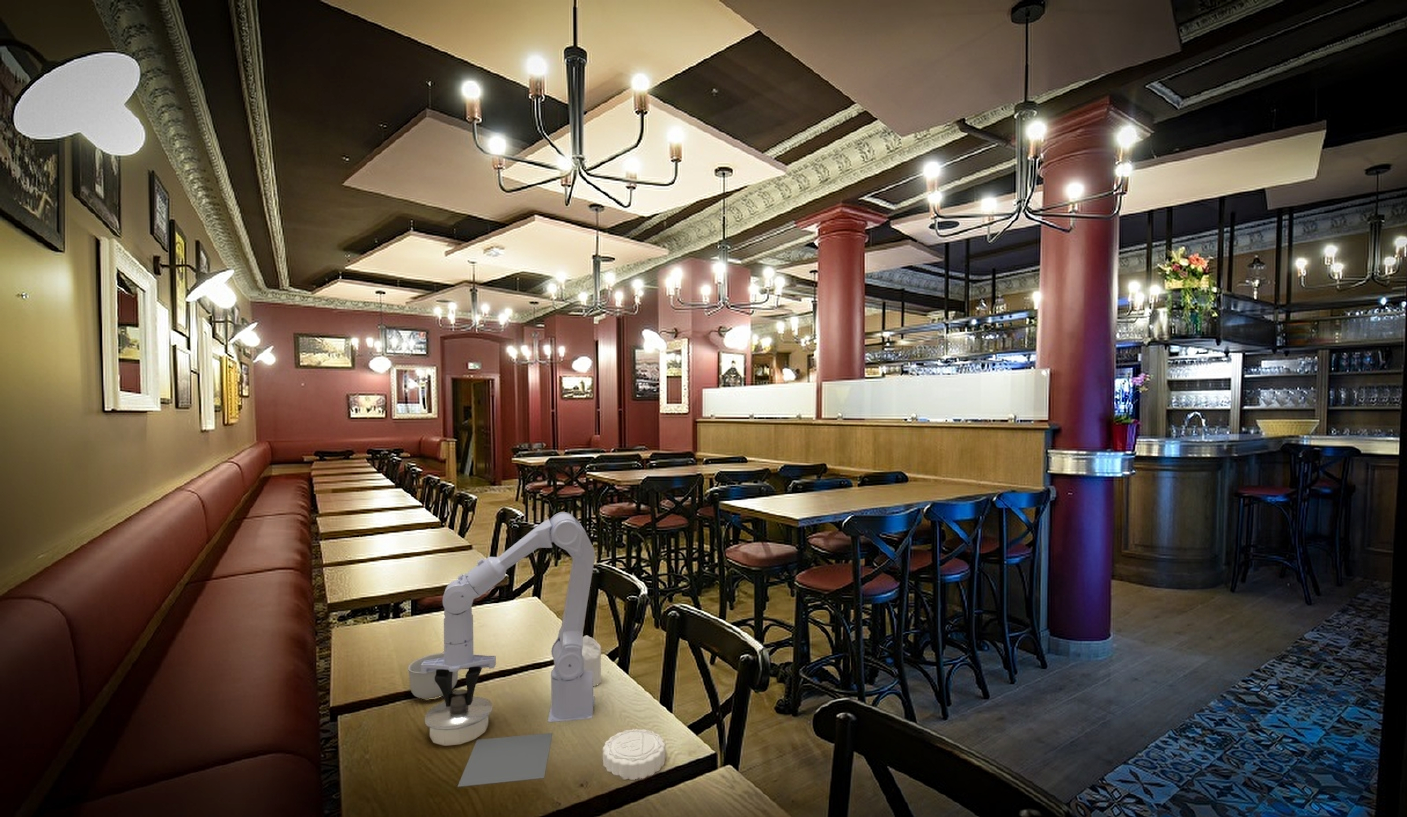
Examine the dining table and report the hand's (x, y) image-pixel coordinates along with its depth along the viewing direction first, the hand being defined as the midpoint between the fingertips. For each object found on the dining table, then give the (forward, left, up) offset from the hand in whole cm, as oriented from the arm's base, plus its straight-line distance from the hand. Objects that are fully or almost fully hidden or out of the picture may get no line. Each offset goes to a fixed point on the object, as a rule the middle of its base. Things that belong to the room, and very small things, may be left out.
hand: (459, 703), depth 123 cm
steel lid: (0, 0, -2) cm, 2 cm away
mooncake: (-36, +16, -6) cm, 40 cm away
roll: (-26, -18, -6) cm, 32 cm away
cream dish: (0, 0, -6) cm, 6 cm away
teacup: (+10, -20, -6) cm, 23 cm away
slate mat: (-12, +12, -6) cm, 18 cm away
